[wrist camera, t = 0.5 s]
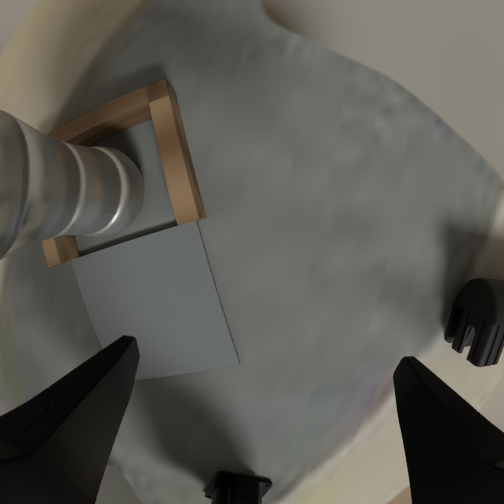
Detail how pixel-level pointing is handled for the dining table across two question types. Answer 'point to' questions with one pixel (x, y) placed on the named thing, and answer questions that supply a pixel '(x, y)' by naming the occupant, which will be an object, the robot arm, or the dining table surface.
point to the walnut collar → (169, 144)
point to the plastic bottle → (61, 188)
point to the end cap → (478, 321)
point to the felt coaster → (158, 302)
